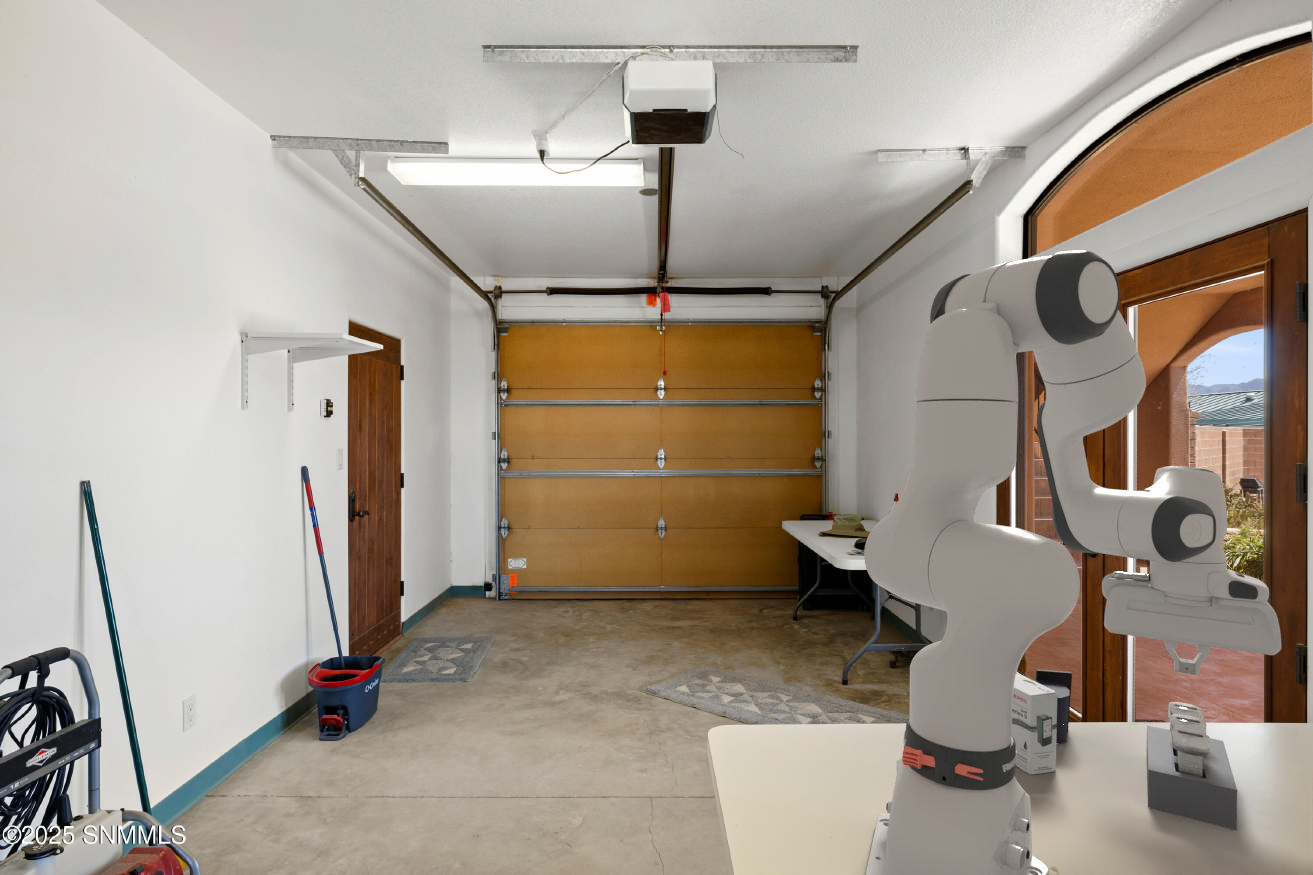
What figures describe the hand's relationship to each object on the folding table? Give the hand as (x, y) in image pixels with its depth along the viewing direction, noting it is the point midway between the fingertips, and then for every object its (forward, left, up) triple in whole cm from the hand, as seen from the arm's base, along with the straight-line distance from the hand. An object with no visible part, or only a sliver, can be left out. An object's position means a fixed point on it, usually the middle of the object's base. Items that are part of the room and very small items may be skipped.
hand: (1186, 672), depth 100 cm
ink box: (-9, +20, -15) cm, 27 cm away
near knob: (-11, 0, -10) cm, 15 cm away
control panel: (-6, 0, -15) cm, 16 cm away
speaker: (+3, +17, -15) cm, 23 cm away
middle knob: (-6, 0, -10) cm, 11 cm away
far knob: (0, 0, -10) cm, 10 cm away
